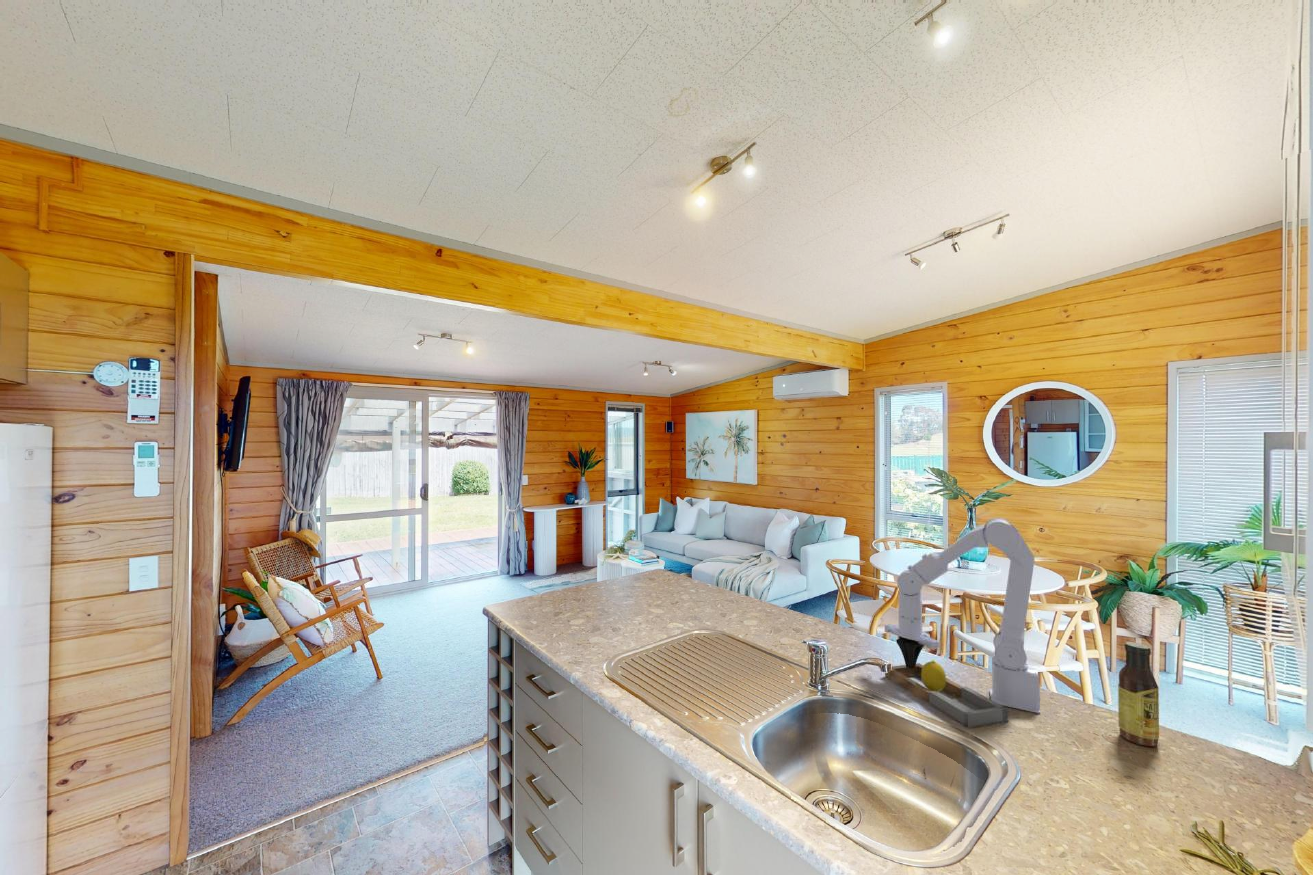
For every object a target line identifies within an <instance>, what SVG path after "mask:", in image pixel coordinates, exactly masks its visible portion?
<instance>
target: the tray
mask: <svg viewBox="0 0 1313 875" xmlns="http://www.w3.org/2000/svg"><path fill="white" fill-rule="evenodd" d="M961 695H962V698H958V697H957V698H951V699H949V698H948V697H946V696H944V695H942V694H941V693H939V692H936V691H931V690H930V692H929V705H930V706H932V707H933V708H935V709H937V710H938V711H940V712H941V713H943V715H946V716H948V717H949V718H951V719H952V720H955V721H956V722H957V723H958V724H960V725H962V726H963V727H965V728H967V729H973V728H979V727H984V726H985V725H986V726H990V725H991V726H992V725H998V724H997V723H999V724H1004V723H1008V721H1009V716H1008V712H1009V711H1008V710H1009V709H1008V708H1007V706H1003V705H1000V704H998V703H996V702H994V701H992V700H991V698H990V697H989V698H988V697H986V696H985V695H983V694H981V693H980V692H977V691H976V690H973V689H972V688H970V687H968V686H962V687H961Z"/></svg>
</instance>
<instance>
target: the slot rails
mask: <svg viewBox="0 0 1313 875" xmlns="http://www.w3.org/2000/svg"><path fill="white" fill-rule="evenodd" d="M923 666H924V665H923V664H922V663H917V662H916V666H915V668H912V669H910V668H907V667H906V664H898V665H893V666H892V670H891V671H890V672H888V673H885V672H884V676H885V678H887V679H889V680H890V681H892V682H893V683H895V684H897V685H898V686H900V687H901V688H903V689H904V690H906V691H908V692H909V693H911V694H913V695H914V696H915V697H917V698H919V699H920V700H921V701H924V702H926V703H927V704H929V692H930V691H931V690H929V689H927V688H926V687H925V685H922V684H921V683H918V682H917V681H915V680H913V679H912V678H910V677H915V676H920V677H921V672H922V668H923ZM961 687H963V686H962V685H960V684H958V683H956V682H955V681H953V680H951V679H950V678H947V677H946V685H945V687H944V689H943V690H944V691H946V692H947V693H949V694H951V695H953V696H954V697H956V698H957V699H958V698H962V695H961ZM929 705H930V704H929Z"/></svg>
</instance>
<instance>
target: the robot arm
mask: <svg viewBox="0 0 1313 875" xmlns="http://www.w3.org/2000/svg"><path fill="white" fill-rule="evenodd" d="M989 545H991V546H992V547H995V548H996V549H997V550H999V551H1002V553H1003V554H1004V555H1005V556H1006V557H1007V558H1008V560H1009V561H1010V562H1009V569H1008V577H1007V582H1006V591H1005V598H1004V605H1003V610H1002V616H1001V618H1002V619H1001V623H1000V625H999V631H998V632H997V633H996V634H995V635H994V637H993V640H992V642H993V646H994V656H993V657H992V658H991V677H992V679H991V682H992V686H991V688H989V694H990V699H991V700H992V701H994V702H996V703H998V704H1000V705H1002V706H1004V707H1008V708H1013V709H1017V710H1022V711H1028V712H1032V713H1035V714H1036V713H1037V714H1041V705H1040V704H1041V703H1040V702H1041V694H1040V693H1041V692H1040V676H1039V671H1038V669H1037V668H1033V667H1030V666H1028V663H1027V660H1028V656H1027V653H1026V651H1025V649H1024V648H1025V647H1024V646H1025V644H1024V643H1025V627H1026V620H1027V616H1028V615H1027V612H1028V607H1029V599H1030V594H1031V586H1032V581H1033V579H1032V578H1033V574H1034V567H1035V555H1034V553H1033V552H1032V550H1031V548H1030V547H1029V545H1028V544H1027V542H1026V541H1025V539H1024V538H1023V536H1022V535H1021V533H1020V532H1019V530H1018V529H1017V527H1016V526H1014V525H1013V524H1012V523H1010V522H1009V521H1008V520H1006V519H1005V518H1001V517H1000V518H999V517H995V518H991V519H989V520H988V521H987V522H985V524H984V523H982V524H980V525H978V526H976V527H974V528H973V529H972V530H969V531H968V532H967V533H966V534H964V535H962V537H960V538H958V539H957V540H956V541H954V542H953V543H952V544H951V545H949V546H948V547H947V548H946V549H944V550H943V551H941V552H939V553H933V552H931V553H929V554H927V553H925V554H923V555H921V558H922V559H920V560H919V561H918V562H916V563H914V564H913V565H912V564H910V565H908V566H907V569H905V570H903V571H902V572H901V573H900V574H899V576H898V577H897V580H896V582H897V583H896V584H897V587H898V598H897V599H898V602H897V603H898V604H897V605H898V608H897V609H898V625H894V624H891V623H887V624H884V633H887V634H889V633H890V634H893V635H894V636H898V638H897V639H896V644H897V645H898V648H899V649H900V651H901V654H902V656H903V660H904V665H906V667H907V668H910V669H912V668H915V666H916V664H917V662H918V658H919V655H920V653H921V651H922V650H923V649H924V647H928V648H930V650H933V651H935V650H938V649H939V647H940V646H939V640H936V639H934V638H932V637H930V636H928V635H927V634H925V633H923V632H924V631H923V600H922V588H923V586H927V585H929V584H931V583H932V582H934V581H935V580H937V579H938V578H940V577H941V576H943V575H944V574H945V573H947V572H948V571H949V570H948V568H949V564H951V563H952V562H954V561H955V560H957V559H959V558H961V557H962V556H964V555H965V554H967V553H968V552H970V551H971V550H973V549H975V548H988V547H989Z"/></svg>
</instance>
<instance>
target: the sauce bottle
mask: <svg viewBox="0 0 1313 875" xmlns="http://www.w3.org/2000/svg"><path fill="white" fill-rule="evenodd" d="M1151 649H1152V648H1151V647H1150V646H1148V645H1146V644H1143V643H1138V642H1131V641H1126V642H1124V650H1125V665H1123V667H1121V669H1120V670H1119V672H1118V684H1117V685H1118V686H1117V688H1118V689H1117V690H1118V691H1117V694H1118V696H1117V698H1118V701H1117V703H1118V705H1117V707H1118V710H1117V711H1118V714H1117V715H1118V716H1117V717H1118V727H1119V735H1121V737H1122V738H1124V739H1125V740H1127V741H1129V742H1131V743H1134V744H1136V745H1140V746H1144V747H1156V746H1157V745H1158V744H1159V739H1160V709H1159V708H1160V704H1159V702H1160V700H1159V695H1160V694H1159V686H1158V682H1157V681H1156V679H1155V677H1154V673H1153V671H1152V669H1151V663H1150V660H1151V659H1150V656H1151V655H1152V653H1151ZM1143 722H1145V723H1143Z"/></svg>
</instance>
